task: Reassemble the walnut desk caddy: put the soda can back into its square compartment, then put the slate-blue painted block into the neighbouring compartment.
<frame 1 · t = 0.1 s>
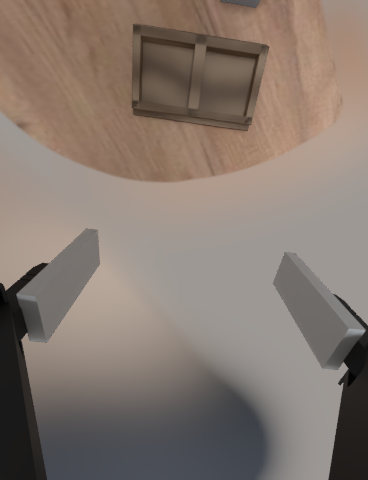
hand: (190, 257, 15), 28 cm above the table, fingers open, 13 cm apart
caddy: (196, 83, 33), on the table
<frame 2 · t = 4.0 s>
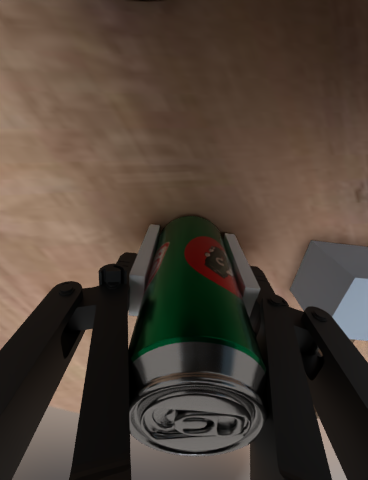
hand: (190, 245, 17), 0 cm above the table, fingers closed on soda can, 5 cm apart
block: (327, 269, 18), on the table
soda can: (190, 242, 17), on the table, touching gripper
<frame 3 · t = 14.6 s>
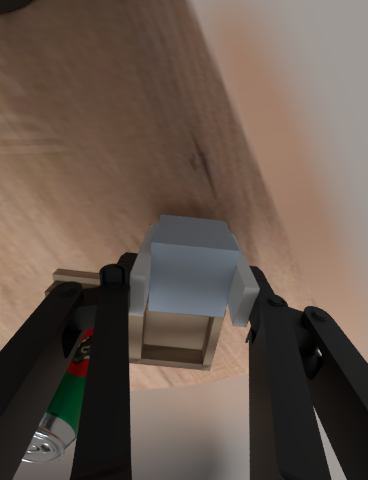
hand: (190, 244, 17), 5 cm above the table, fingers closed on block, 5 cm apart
caddy: (140, 315, 26), on the table
block: (189, 246, 17), point 4 cm above the table, touching gripper
soda can: (101, 316, 25), point 1 cm above the table, touching caddy
when the fingers open (2 cm above the table, at t = 19.6 s): block stays where it is, resting on caddy.
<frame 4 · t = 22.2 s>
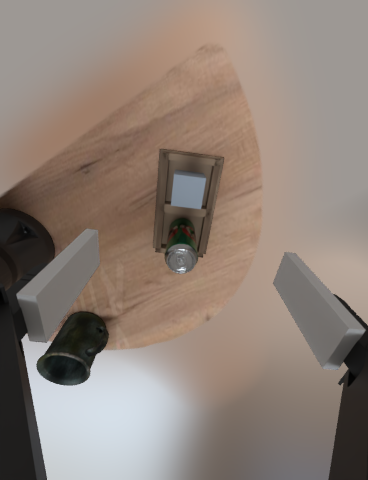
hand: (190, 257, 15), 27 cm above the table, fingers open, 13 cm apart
caddy: (185, 205, 41), on the table
block: (187, 185, 38), point 1 cm above the table, touching caddy
mug: (92, 322, 56), on the table
soda can: (182, 228, 42), point 1 cm above the table, touching caddy
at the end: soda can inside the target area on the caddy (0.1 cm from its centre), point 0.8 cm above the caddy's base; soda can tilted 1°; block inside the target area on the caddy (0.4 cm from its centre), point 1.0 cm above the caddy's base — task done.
